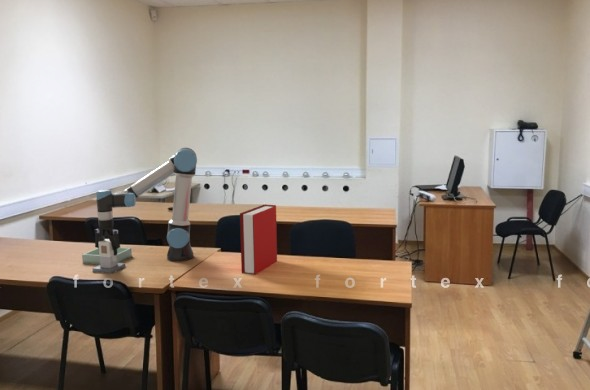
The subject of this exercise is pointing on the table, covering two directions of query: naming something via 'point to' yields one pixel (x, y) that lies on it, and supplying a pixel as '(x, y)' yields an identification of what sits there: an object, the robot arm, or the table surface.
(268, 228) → the book
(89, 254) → the bin
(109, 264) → the white grey block
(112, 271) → the stud block
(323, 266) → the table surface
